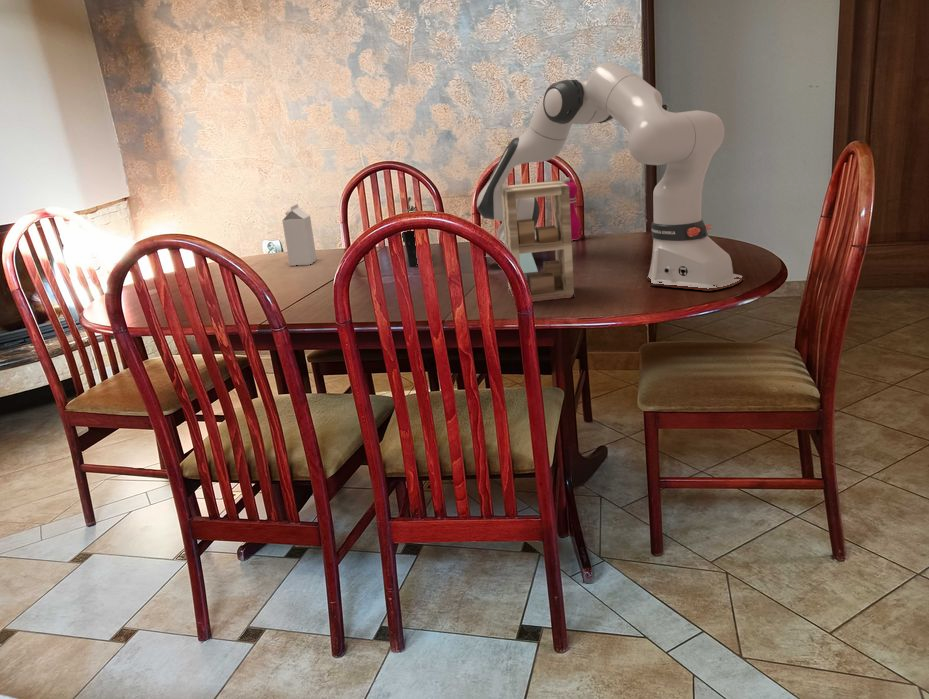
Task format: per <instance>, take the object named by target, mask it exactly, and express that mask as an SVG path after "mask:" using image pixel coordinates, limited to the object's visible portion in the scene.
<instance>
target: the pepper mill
mask: <svg viewBox="0 0 929 699" xmlns="http://www.w3.org/2000/svg"><path fill="white" fill-rule="evenodd" d="M564 183H565V184H567V185H569V196H570V217H571V238H572V239H577V238H580V239H581V236H580V235H581V234H580V233H579V232H580V230H581V228H582V226H581V224H582V223H581V221H580V218H579V216H578V214H577V212H576V202H577V197H576V196H577V193H578V187H577V185H576V184H575V183H574V182H572V181H571V178H570V177H569V176H568V177H567V176H566V177H565V178H564Z"/></svg>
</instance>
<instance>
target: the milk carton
mask: <svg viewBox="0 0 929 699" xmlns="http://www.w3.org/2000/svg"><path fill="white" fill-rule="evenodd" d="M282 227H283V233H284V240H285V245H286V250H287V257H288V262H289V266H290V267H295V266H296V265H298V266H309V265H310V264H311V265H312V264H314V263H315V262H316V261H317V260H318V257H317V253H316V246H315V239H314V232H313V225H312V220H311V215H310V214H308V212H306V211H305V210H303V209H302V208H300V207H299V203H296V204H293V205H292V206H290V208H289V209H287V211H286V212H285V217H284V218H283V219H282ZM313 262H314V263H313Z"/></svg>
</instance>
